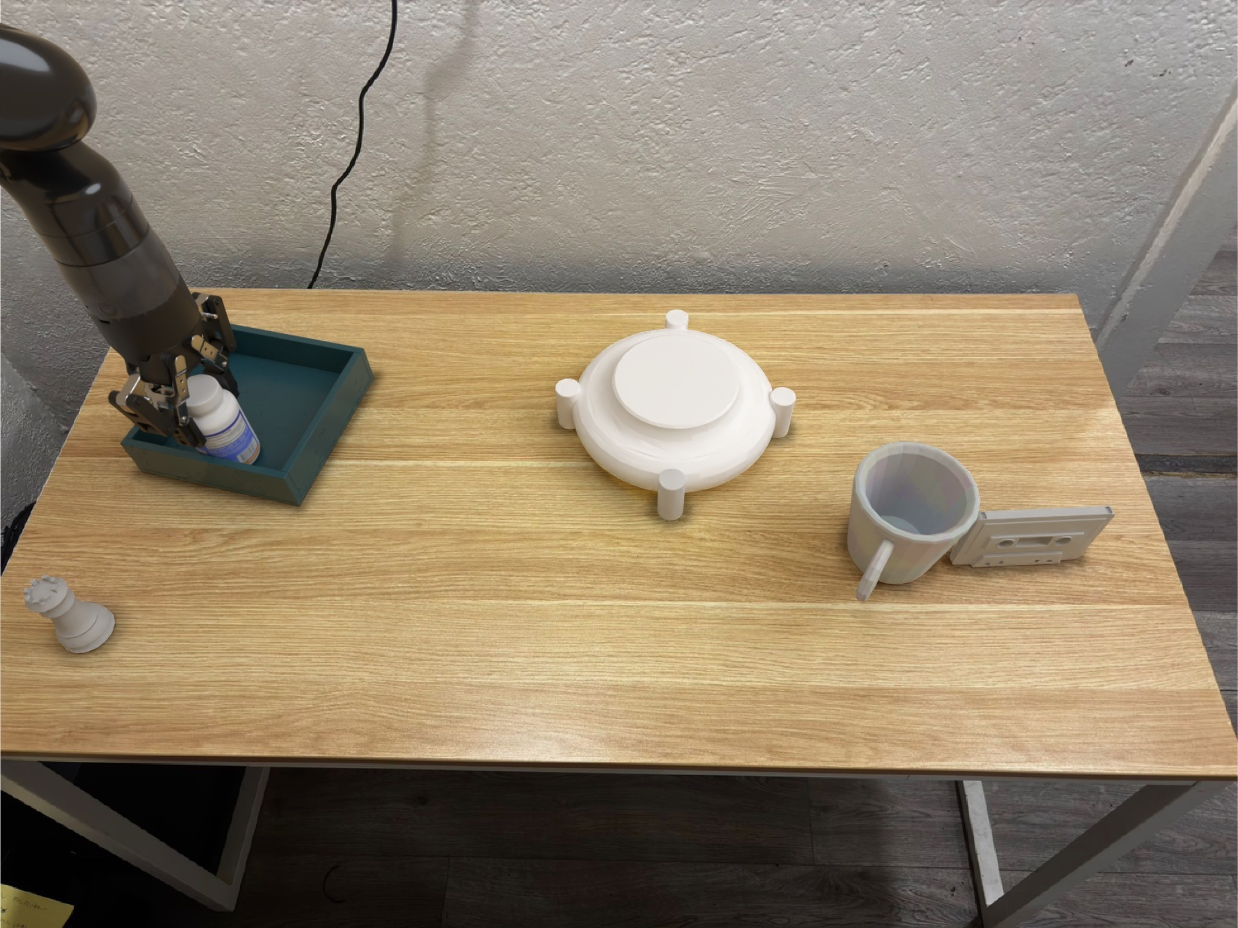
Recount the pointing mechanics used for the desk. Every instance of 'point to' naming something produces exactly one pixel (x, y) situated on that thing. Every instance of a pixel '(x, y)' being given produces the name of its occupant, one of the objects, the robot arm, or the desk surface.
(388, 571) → the desk surface
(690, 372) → the round stand with pegs
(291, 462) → the shallow teal tray
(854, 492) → the mug
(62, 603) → the rook chess piece
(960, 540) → the cassette
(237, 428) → the pill bottle
